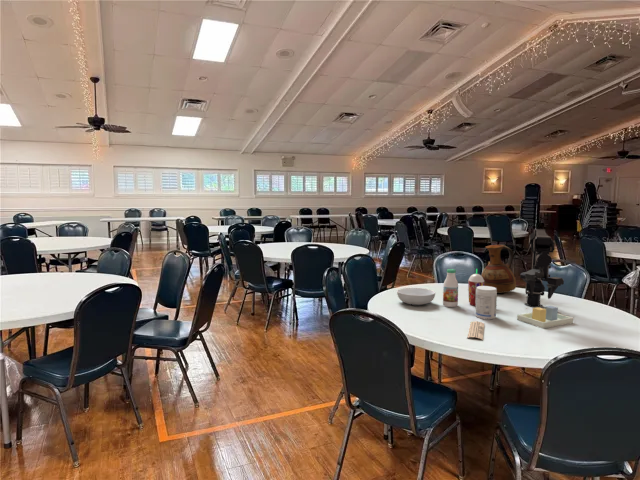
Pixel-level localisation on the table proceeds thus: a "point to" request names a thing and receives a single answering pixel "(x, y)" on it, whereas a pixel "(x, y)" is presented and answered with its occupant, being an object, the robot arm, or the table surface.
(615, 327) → the table surface
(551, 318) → the slate block
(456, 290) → the milk bottle
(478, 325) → the newspaper
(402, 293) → the serving bowl
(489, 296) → the supplement tub
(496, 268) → the ceramic pitcher
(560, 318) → the tray
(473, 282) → the smoothie
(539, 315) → the ochre block
